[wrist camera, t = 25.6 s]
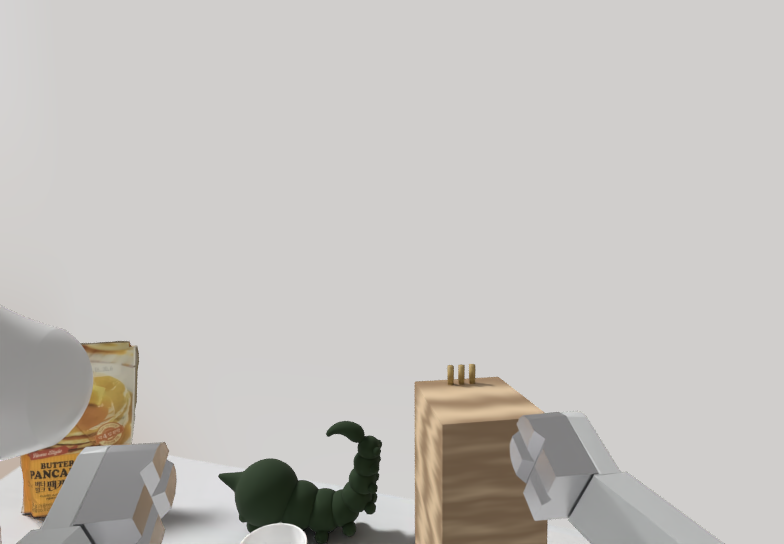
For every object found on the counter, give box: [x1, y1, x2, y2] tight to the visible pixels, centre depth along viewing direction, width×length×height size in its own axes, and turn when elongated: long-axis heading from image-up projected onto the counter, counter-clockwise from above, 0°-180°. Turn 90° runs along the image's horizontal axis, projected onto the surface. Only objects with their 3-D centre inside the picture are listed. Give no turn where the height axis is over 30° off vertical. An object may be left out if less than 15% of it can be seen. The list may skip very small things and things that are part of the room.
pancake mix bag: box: [20, 341, 139, 517], centre depth 74 cm, size 7×19×28 cm, turn 103°
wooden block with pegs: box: [415, 364, 547, 544], centre depth 54 cm, size 14×12×28 cm
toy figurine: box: [218, 421, 382, 544], centre depth 67 cm, size 9×19×25 cm
